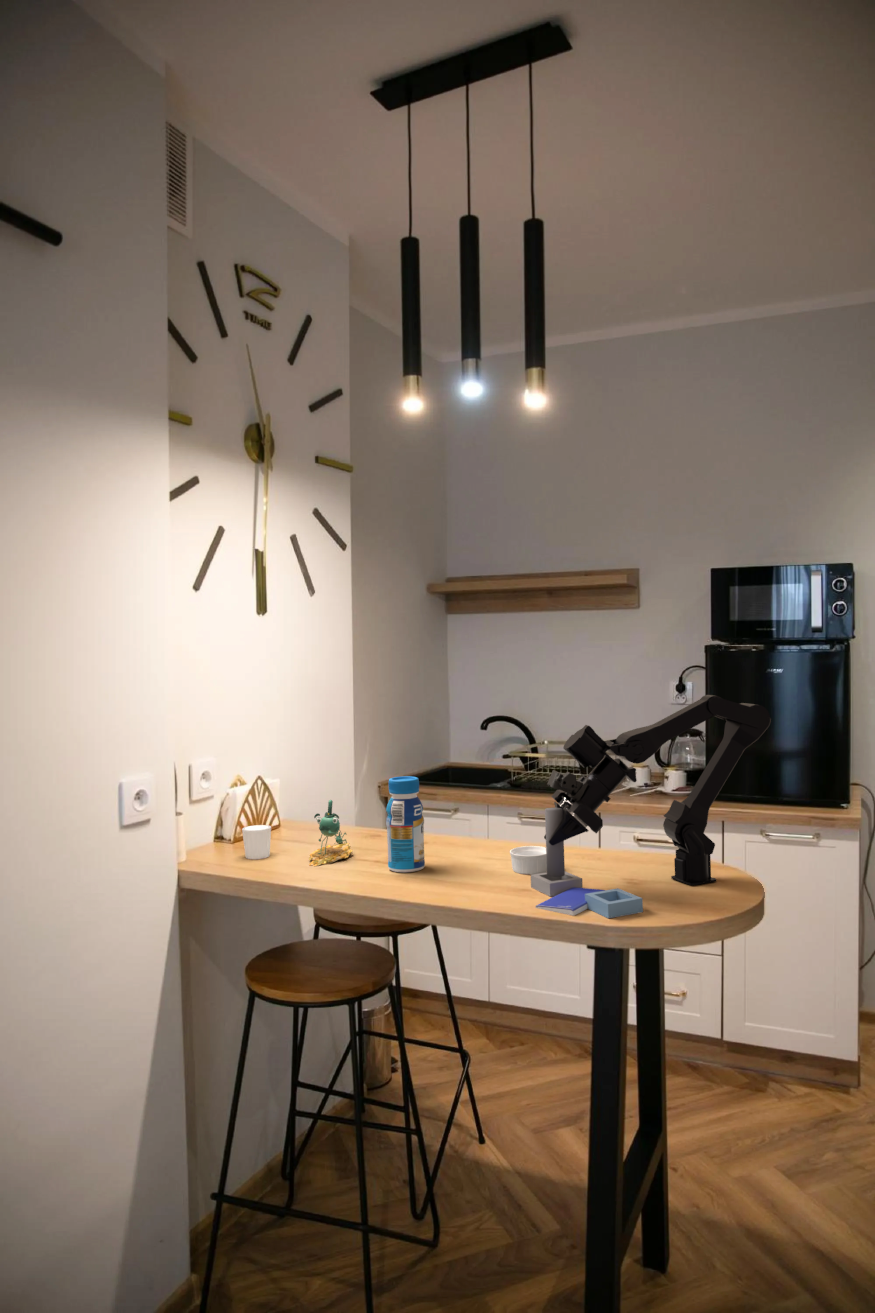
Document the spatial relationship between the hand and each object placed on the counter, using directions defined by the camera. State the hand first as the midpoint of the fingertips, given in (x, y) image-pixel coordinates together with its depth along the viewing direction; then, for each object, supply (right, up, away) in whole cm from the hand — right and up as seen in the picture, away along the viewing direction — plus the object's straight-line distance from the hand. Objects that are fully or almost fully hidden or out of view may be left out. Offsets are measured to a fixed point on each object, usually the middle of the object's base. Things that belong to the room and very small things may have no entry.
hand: (547, 841), depth 171 cm
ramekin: (-2, -10, +16) cm, 19 cm away
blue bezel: (+10, -9, -14) cm, 20 cm away
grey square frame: (+2, -9, 0) cm, 10 cm away
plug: (+2, -7, 0) cm, 7 cm away
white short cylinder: (-65, -11, +36) cm, 75 cm away
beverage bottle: (-29, -10, +20) cm, 37 cm away
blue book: (+4, -10, -9) cm, 14 cm away
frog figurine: (-47, -11, +33) cm, 58 cm away
